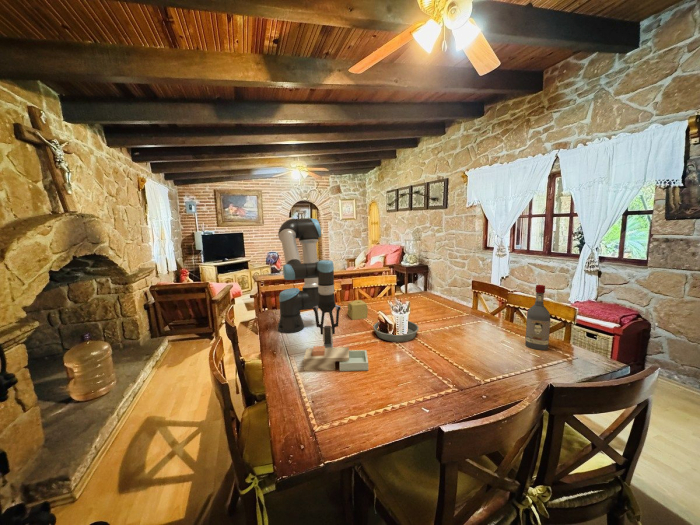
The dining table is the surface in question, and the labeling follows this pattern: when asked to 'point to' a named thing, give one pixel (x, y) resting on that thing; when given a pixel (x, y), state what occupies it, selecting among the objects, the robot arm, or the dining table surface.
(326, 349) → the ledge
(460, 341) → the dining table surface
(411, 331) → the cake pan
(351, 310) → the cheese
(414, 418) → the dining table surface
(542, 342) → the liquor
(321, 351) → the tile
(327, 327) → the scraper
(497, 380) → the dining table surface
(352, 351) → the box
